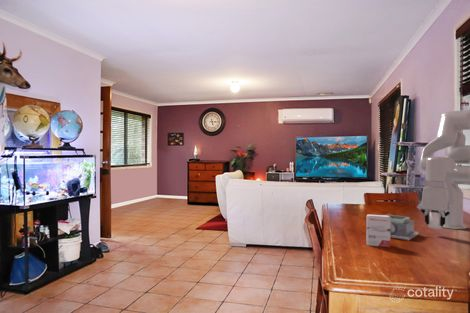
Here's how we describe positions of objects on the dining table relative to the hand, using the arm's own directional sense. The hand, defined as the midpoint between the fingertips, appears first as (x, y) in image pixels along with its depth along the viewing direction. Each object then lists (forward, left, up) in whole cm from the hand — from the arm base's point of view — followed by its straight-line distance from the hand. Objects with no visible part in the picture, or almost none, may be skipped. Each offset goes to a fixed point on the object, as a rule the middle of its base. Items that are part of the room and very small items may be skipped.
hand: (434, 224), depth 150 cm
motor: (+11, -14, -5) cm, 18 cm away
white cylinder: (0, 0, -1) cm, 1 cm away
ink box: (+36, -13, -5) cm, 38 cm away
